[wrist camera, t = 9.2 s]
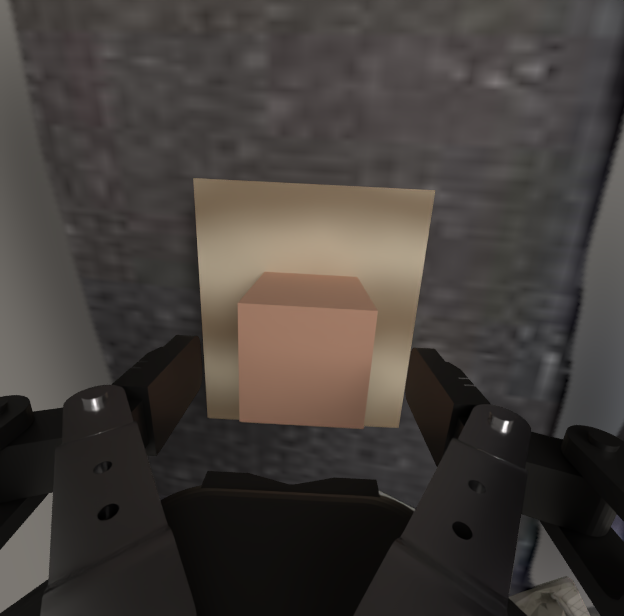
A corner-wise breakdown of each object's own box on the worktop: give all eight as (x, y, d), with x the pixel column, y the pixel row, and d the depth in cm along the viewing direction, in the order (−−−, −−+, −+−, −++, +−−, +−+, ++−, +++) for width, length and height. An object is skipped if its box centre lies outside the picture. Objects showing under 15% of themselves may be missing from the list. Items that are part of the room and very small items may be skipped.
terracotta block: (264, 271, 17) (237, 302, 11) (357, 276, 17) (377, 311, 11) (263, 355, 18) (239, 421, 13) (349, 360, 18) (363, 428, 13)
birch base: (217, 184, 19) (193, 178, 16) (411, 194, 19) (435, 190, 16) (225, 384, 23) (207, 418, 20) (385, 392, 23) (398, 427, 20)
